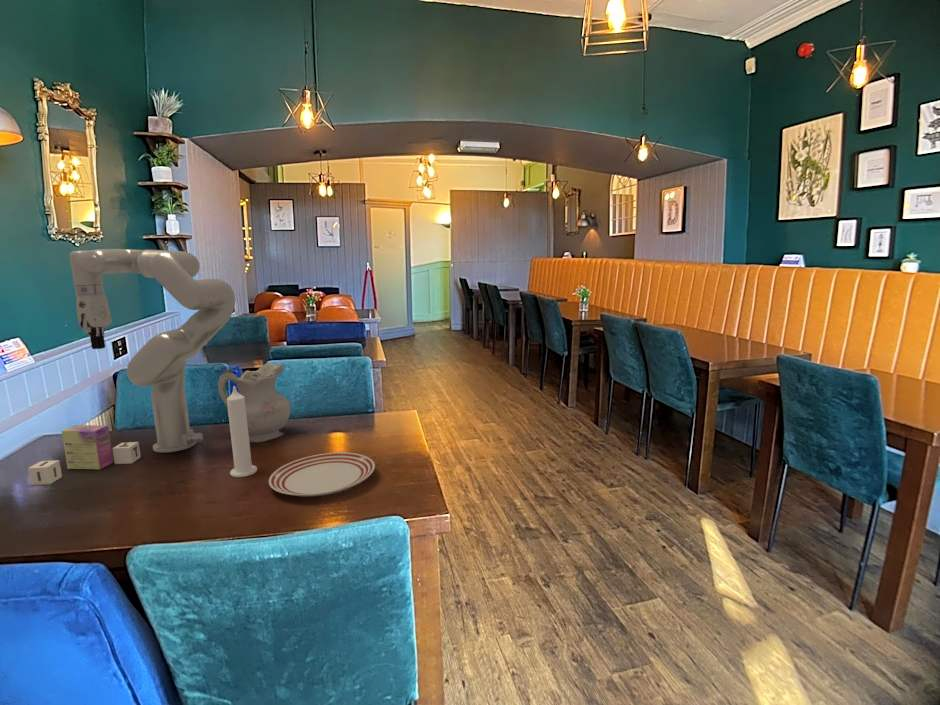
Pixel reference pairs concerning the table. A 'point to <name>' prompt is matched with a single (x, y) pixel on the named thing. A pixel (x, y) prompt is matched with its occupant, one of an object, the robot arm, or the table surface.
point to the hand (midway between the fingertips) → (98, 348)
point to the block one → (45, 472)
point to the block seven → (126, 453)
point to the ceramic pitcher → (260, 401)
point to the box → (87, 447)
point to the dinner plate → (322, 474)
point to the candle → (239, 436)
